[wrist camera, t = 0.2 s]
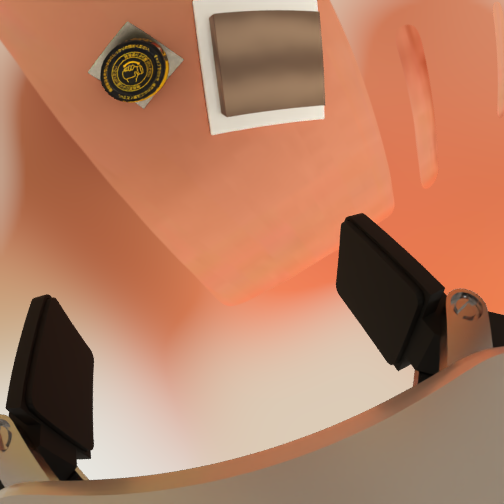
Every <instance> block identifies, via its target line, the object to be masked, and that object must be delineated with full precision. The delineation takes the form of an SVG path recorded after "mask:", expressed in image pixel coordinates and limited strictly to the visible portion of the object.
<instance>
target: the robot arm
mask: <svg viewBox="0 0 504 504" xmlns="http://www.w3.org/2000/svg"><path fill="white" fill-rule="evenodd" d="M336 288H337V291H338V294H339V295H340V297H341V298H342V299H343V301H344V302H345V303H346V305H347V306H348V308H349V309H350V310H351V312H352V313H353V314H354V316H355V317H356V319H357V320H358V321H359V323H360V324H361V325H362V327H363V328H364V330H365V331H366V332H367V334H368V335H369V337H370V338H371V340H372V341H373V342H374V344H375V345H376V347H377V348H378V349H379V351H380V352H381V354H382V355H383V357H384V358H385V360H386V361H387V362H388V363H389V364H390V365H394V366H395V368H396V369H397V370H398V371H399V370H401V369H403V368H405V367H407V366H409V365H410V364H411V365H412V366H413V367H414V369H415V373H414V381H413V387H412V388H410V389H408V390H406V391H404V392H402V393H401V394H399V395H397V396H395V397H393V398H391V399H389V400H387V401H386V402H383V403H382V404H379V405H377V406H375V407H373V408H371V409H369V410H367V411H365V412H363V413H361V414H359V415H356V416H354V417H352V418H350V419H347V420H345V421H343V422H341V423H338V424H336V425H333V426H331V427H329V428H326V429H324V430H321V431H319V432H316V433H313V434H311V435H308V436H305V437H303V438H300V439H297V440H294V441H292V442H289V443H286V444H283V445H280V446H277V447H274V448H271V449H268V450H264V451H261V452H257V453H254V454H250V455H247V456H243V457H239V458H236V459H232V460H228V461H224V462H220V463H215V464H211V465H206V466H201V467H196V468H192V469H186V470H180V471H175V472H169V473H162V474H155V475H148V476H139V477H129V478H117V479H102V480H89V479H88V478H87V477H86V476H85V475H84V474H83V472H82V471H81V470H80V469H79V468H78V467H77V459H91V452H90V450H92V449H93V447H94V440H93V368H94V358H93V354H92V351H91V350H90V348H89V347H88V346H87V344H86V343H85V341H84V340H83V339H82V337H81V336H80V334H79V333H78V331H77V330H76V328H75V327H74V325H73V324H72V323H71V321H70V320H69V318H68V316H67V315H66V313H65V312H64V310H63V309H62V307H61V305H60V304H59V302H58V301H57V299H56V298H52V297H51V296H50V295H43V296H40V297H36V298H34V299H32V301H31V304H30V307H29V311H28V314H27V317H26V320H25V323H24V327H23V330H22V334H21V338H20V342H19V345H18V349H17V353H16V357H15V362H14V366H13V370H12V375H11V380H10V386H9V391H8V397H7V403H6V409H7V410H8V411H9V417H8V416H6V415H1V414H0V504H504V315H501V314H496V313H493V312H488V310H487V307H486V304H485V302H484V301H483V299H482V298H481V297H480V296H478V295H477V294H475V293H474V292H472V291H470V290H467V289H455V290H452V291H451V292H449V294H448V295H446V294H445V293H444V289H445V287H444V286H443V285H441V284H440V283H439V282H438V281H437V280H436V279H435V278H434V277H433V276H432V275H431V274H430V273H429V272H428V271H427V270H426V269H425V268H424V267H423V266H422V265H421V264H420V263H419V262H418V261H417V260H416V259H415V258H413V257H412V256H411V255H410V254H409V253H408V252H407V251H406V250H405V249H404V248H402V247H401V246H400V245H399V244H398V243H397V242H396V241H395V240H394V239H393V238H391V237H390V236H389V235H388V234H387V233H386V232H385V231H384V230H382V229H381V228H380V227H379V226H378V225H377V224H376V223H374V222H373V221H372V220H371V219H370V218H369V217H367V216H366V215H365V214H363V213H361V214H357V215H352V216H348V217H346V219H345V222H343V223H342V224H341V232H340V246H339V258H338V269H337V279H336Z"/></svg>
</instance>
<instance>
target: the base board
mask: <svg viewBox="0 0 504 504" xmlns="http://www.w3.org/2000/svg"><path fill="white" fill-rule="evenodd" d="M192 4H193V12H194V20H195V28H196V36H197V43H198V51H199V58H200V65H201V72H202V79H203V86H204V93H205V100H206V107H207V114H208V120H209V127H210V134H211V135H216V134H221V133H226V132H231V131H237V130H243V129H249V128H255V127H261V126H268V125H275V124H282V123H290V122H298V121H307V120H317V119H324V105H323V106H310V107H299V108H290V109H281V110H273V111H265V112H258V113H251V114H244V115H238V116H232V117H226V116H224V115H223V114H222V113H221V108H220V100H219V93H218V85H217V78H216V70H215V62H214V55H213V47H212V39H211V31H210V23H209V17H210V16H212V15H213V14H216V13H226V12H239V11H260V10H296V11H317V12H318V6H317V0H194V1H193V2H192Z"/></svg>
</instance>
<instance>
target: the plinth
mask: <svg viewBox="0 0 504 504" xmlns="http://www.w3.org/2000/svg"><path fill="white" fill-rule="evenodd" d="M209 23H210V31H211V39H212V47H213V55H214V62H215V70H216V78H217V85H218V93H219V100H220V108H221V113H222V114H223V115H224V116H226V117H232V116H238V115H244V114H251V113H258V112H265V111H273V110H281V109H290V108H299V107H310V106H323V105H325V88H324V67H323V51H322V37H321V25H320V14H319V12H317V11H296V10H260V11H239V12H226V13H216V14H213V15H212V16H210V17H209Z"/></svg>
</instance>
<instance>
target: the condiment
mask: <svg viewBox="0 0 504 504" xmlns="http://www.w3.org/2000/svg"><path fill="white" fill-rule="evenodd" d="M183 60H184V59H182V58H181V57H180V56H178V55H177V54H175V53H174V52H173V51H171V50H170V49H168V48H167V47H165V46H164V45H162V44H161V43H160V42H158V41H157V40H155V39H154V38H152V37H151V36H149V35H148V34H146V33H145V32H143V31H142V30H140V29H139V28H137V27H136V26H134V25H132V24H131V23H129V22H128V21H127V22H126V23H125V25H124V26H123V27H122V28H121V30H120V31H119V32H118V33H117V34H116V36H115V37H114V38H113V39H112V41H111V42H110V43H109V44H108V46H107V47H106V48H105V50H104V51H103V52H102V54H101V55H100V56H99V57H98V59H97V60H96V62H95V63H94V64H93V66H92V67H91V68H90V70H89V71H88V73H89V74H91V75H92V76H94V77H95V78H97V79H99V80H100V81H101V82H102V86H103V87H104V89H105V91H106V92H107V93H108V94H109V95H110V96H112V97H114V99H117V100H120V101H124V102H131V103H132V102H134V103H136V104H138V105H139V106H141V107H142V108H143V109H144V108H145V107H146V105H147V104H148V103H149V101H150V100H151V99H152V98H153V96H154V95H155V94H156V93H157V92H158V91H159V90H160V89H161V88H162V87H163V85H164V84H165V82H166V80H167V79H168V78H169V77H170V75H171V74H172V73H173V72H174V71H175V69H176V68H177V67H178V66H179V65H180V64H181V63H182V61H183Z"/></svg>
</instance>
